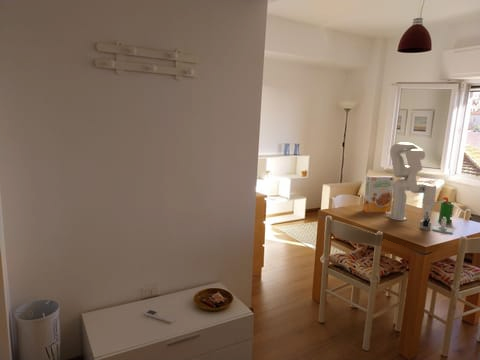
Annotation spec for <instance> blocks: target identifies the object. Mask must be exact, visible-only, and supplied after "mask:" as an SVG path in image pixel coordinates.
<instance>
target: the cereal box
mask: <svg viewBox="0 0 480 360" xmlns="http://www.w3.org/2000/svg"><path fill="white" fill-rule="evenodd" d="M394 182H395V176H391V175H366V177H365V185H364V186H365V188H364V197H363V205H362V206H363V207H362V211H363V210H364V212H365V213H382V212H383V213H386V211H389V212H391V210H392V208H391V207H392V201H393V193H394V188H393V184H394Z"/></svg>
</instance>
